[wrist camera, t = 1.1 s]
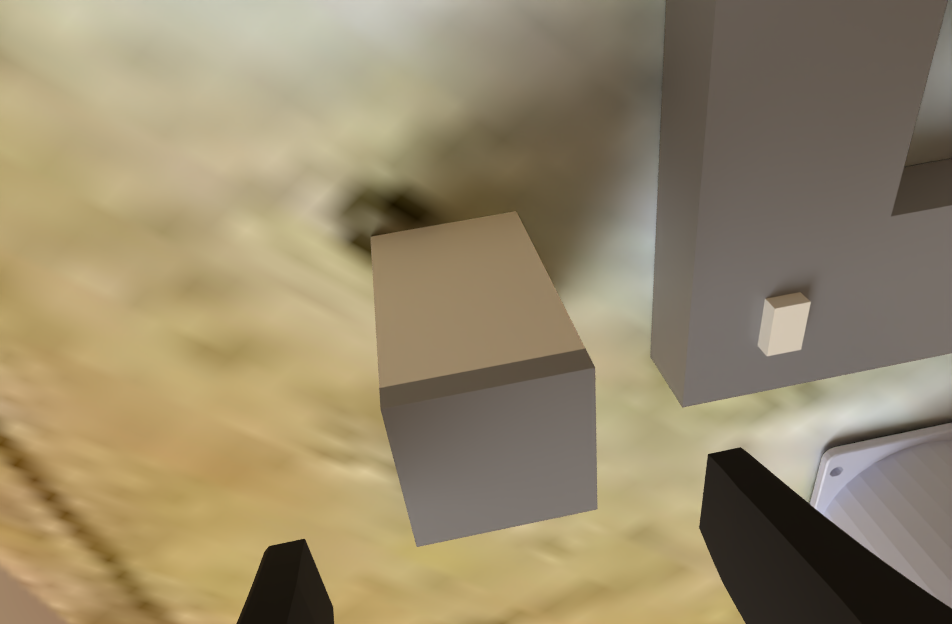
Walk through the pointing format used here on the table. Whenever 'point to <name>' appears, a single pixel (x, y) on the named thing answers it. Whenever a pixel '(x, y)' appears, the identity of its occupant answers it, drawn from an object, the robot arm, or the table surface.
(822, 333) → the socket block
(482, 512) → the plug
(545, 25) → the table surface
